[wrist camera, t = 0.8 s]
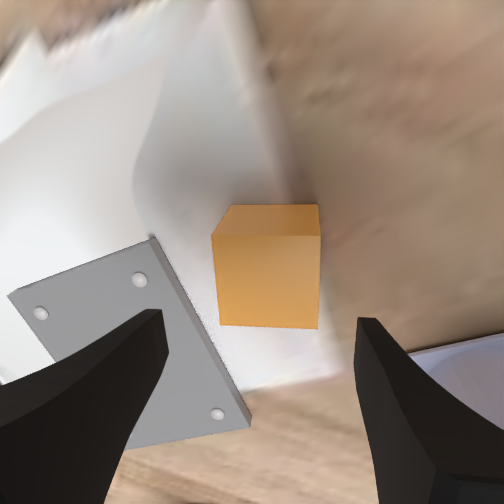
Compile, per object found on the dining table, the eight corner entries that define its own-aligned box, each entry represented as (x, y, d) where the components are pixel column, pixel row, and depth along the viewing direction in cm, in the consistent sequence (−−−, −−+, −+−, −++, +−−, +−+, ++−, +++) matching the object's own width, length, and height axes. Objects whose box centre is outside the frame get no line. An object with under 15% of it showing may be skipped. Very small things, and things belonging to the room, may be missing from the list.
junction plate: (251, 416, 28) (242, 472, 24) (126, 440, 31) (99, 492, 27) (155, 237, 23) (121, 268, 18) (17, 288, 26) (-37, 325, 22)
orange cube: (317, 204, 20) (321, 235, 16) (315, 281, 22) (318, 329, 18) (231, 204, 21) (211, 235, 16) (237, 279, 23) (220, 325, 18)
